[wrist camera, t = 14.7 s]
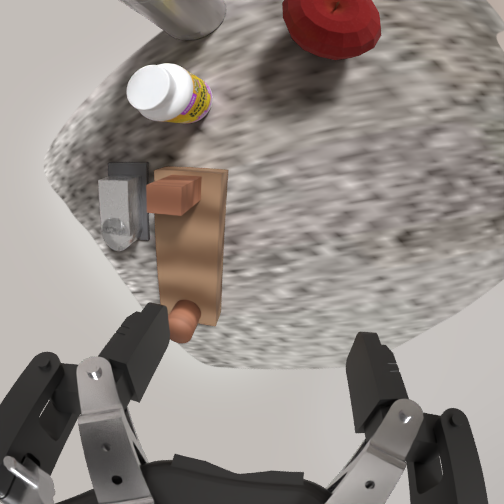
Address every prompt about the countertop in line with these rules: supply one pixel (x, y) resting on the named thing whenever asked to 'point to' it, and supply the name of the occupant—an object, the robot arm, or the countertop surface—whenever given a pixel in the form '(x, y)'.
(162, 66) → the supplement bottle
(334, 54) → the apple
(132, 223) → the lever cap
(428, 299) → the countertop surface
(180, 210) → the plane body
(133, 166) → the rubber mat
